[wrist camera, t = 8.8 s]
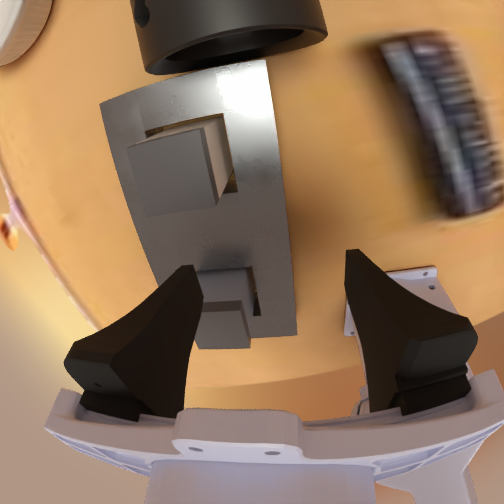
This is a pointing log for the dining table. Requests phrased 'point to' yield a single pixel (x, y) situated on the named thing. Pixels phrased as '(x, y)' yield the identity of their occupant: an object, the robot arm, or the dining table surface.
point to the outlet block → (234, 194)
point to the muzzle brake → (222, 31)
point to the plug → (182, 167)
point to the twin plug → (226, 308)
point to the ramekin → (20, 26)
